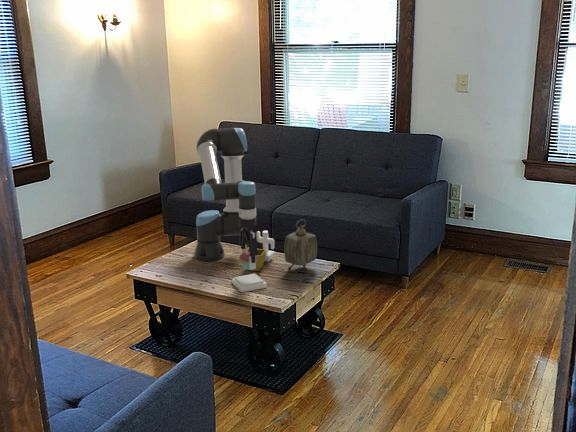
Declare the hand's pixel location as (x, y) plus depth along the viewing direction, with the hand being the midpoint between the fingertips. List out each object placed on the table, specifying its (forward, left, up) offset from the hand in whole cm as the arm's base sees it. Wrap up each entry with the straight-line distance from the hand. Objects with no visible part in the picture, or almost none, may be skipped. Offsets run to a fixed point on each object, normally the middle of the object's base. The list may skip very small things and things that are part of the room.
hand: (248, 265), depth 270 cm
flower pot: (-17, +10, -10) cm, 22 cm away
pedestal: (0, 0, -9) cm, 9 cm away
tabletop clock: (-7, +30, -10) cm, 32 cm away
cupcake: (0, 0, -1) cm, 1 cm away
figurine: (-27, +20, -10) cm, 35 cm away
